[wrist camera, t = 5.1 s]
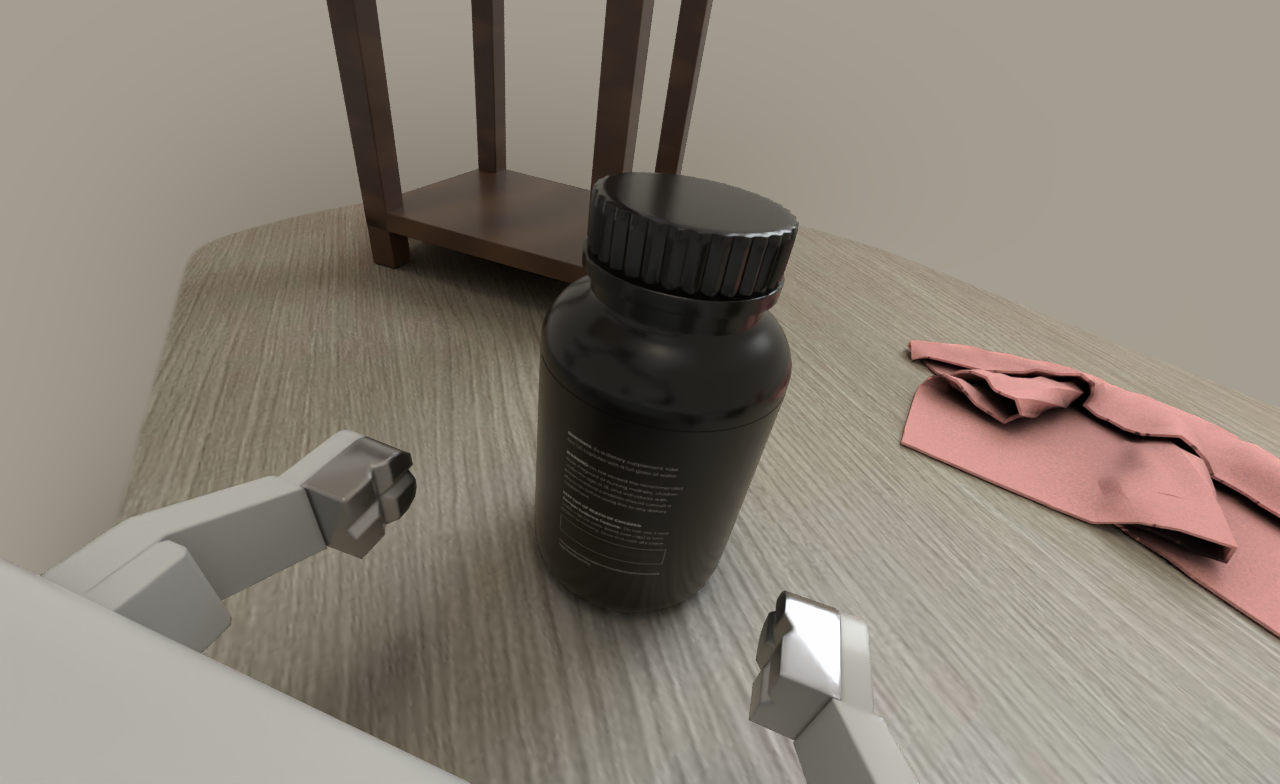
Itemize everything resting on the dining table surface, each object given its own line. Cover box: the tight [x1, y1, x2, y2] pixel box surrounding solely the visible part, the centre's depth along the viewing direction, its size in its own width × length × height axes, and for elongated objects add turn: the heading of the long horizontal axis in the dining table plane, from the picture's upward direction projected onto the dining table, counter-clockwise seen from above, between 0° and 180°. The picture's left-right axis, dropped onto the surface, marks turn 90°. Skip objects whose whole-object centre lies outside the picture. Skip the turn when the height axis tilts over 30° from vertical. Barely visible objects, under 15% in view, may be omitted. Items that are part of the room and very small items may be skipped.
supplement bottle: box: [535, 172, 799, 613], centre depth 15 cm, size 7×7×12 cm
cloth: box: [900, 340, 1280, 637], centre depth 27 cm, size 20×22×2 cm
